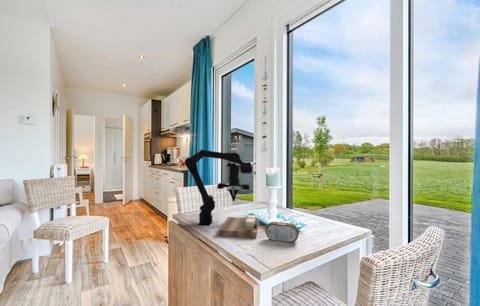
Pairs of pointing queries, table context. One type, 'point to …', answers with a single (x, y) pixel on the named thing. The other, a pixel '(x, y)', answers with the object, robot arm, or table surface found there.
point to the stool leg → (250, 221)
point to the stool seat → (238, 228)
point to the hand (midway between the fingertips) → (233, 200)
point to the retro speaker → (282, 232)
